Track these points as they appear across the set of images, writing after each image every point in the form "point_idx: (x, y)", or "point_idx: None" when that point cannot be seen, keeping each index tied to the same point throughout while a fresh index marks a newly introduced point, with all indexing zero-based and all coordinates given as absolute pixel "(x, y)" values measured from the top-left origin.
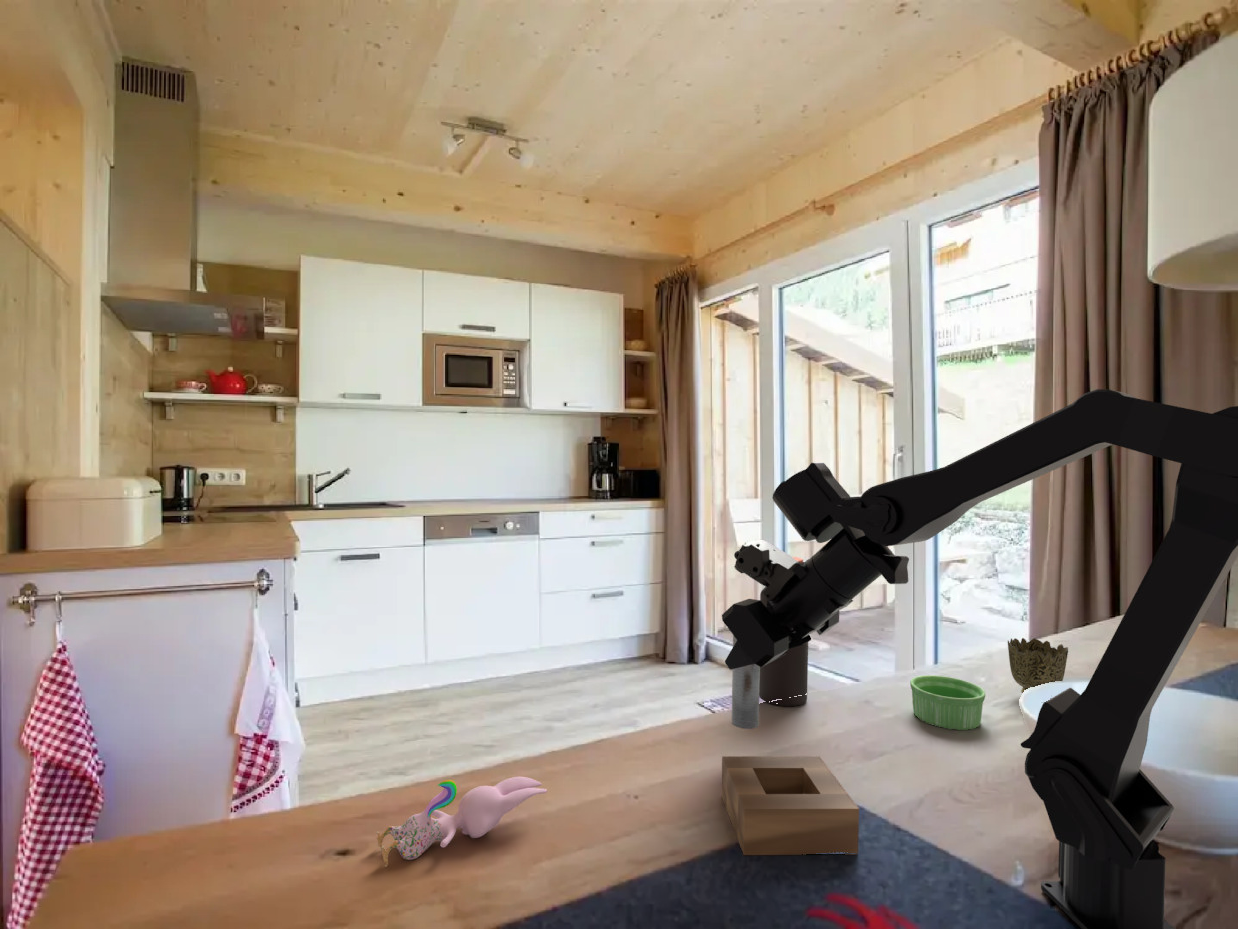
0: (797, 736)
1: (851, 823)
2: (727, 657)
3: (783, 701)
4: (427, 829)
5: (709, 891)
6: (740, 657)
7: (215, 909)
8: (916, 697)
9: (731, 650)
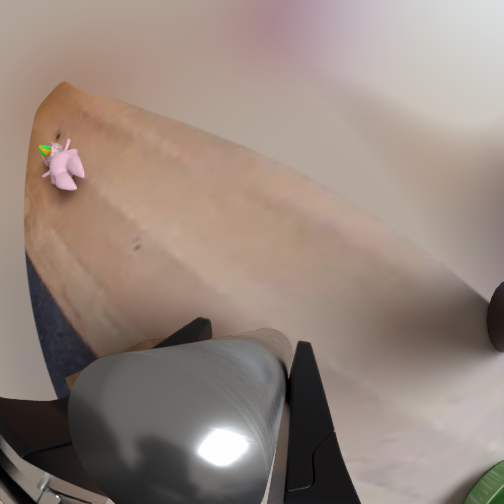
0: (403, 387)
1: None
2: (182, 328)
3: (491, 329)
4: (45, 161)
5: (57, 351)
6: None
7: (33, 138)
8: (498, 480)
9: (156, 345)
